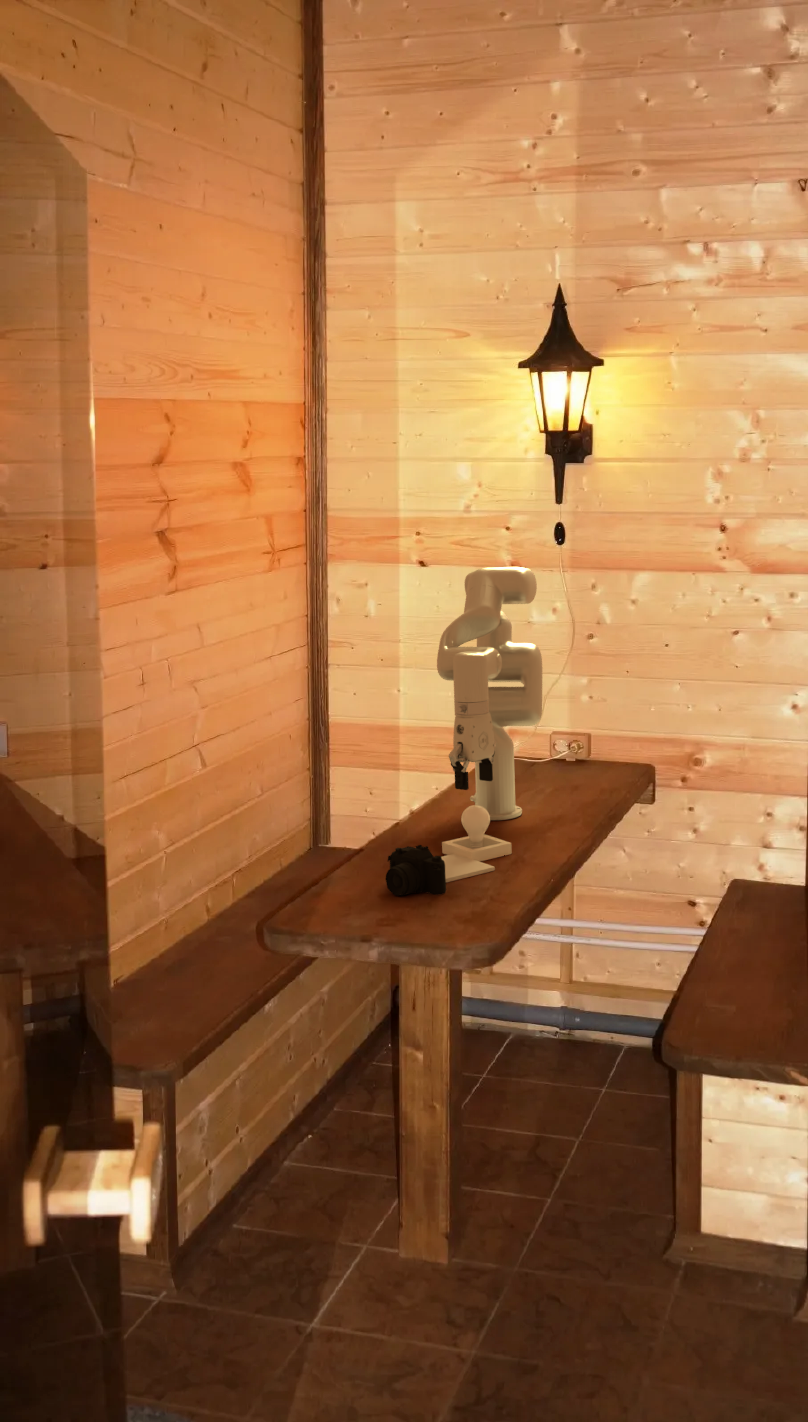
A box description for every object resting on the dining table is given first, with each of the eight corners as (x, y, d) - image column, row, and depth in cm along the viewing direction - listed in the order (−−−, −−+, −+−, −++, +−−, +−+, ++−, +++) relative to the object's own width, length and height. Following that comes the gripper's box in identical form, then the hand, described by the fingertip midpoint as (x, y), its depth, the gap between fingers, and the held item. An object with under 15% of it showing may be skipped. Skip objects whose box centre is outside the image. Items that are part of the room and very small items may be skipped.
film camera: (368, 889, 304) (366, 847, 302) (401, 878, 310) (400, 837, 309) (419, 904, 293) (417, 860, 291) (453, 892, 299) (451, 850, 298)
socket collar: (442, 852, 328) (441, 842, 327) (481, 843, 334) (481, 833, 333) (471, 863, 319) (471, 852, 318) (511, 853, 325) (511, 842, 324)
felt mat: (403, 869, 317) (403, 865, 317) (456, 856, 324) (455, 853, 324) (441, 883, 305) (441, 879, 305) (494, 870, 313) (494, 866, 313)
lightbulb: (494, 850, 328) (492, 802, 326) (486, 858, 322) (485, 809, 320) (467, 848, 330) (465, 801, 328) (459, 856, 324) (457, 808, 322)
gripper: (464, 715, 311) (466, 794, 314) (507, 703, 325) (509, 779, 328) (435, 713, 315) (437, 791, 318) (478, 701, 329) (481, 775, 332)
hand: (474, 784), depth 323 cm, fingers open, 9 cm apart
